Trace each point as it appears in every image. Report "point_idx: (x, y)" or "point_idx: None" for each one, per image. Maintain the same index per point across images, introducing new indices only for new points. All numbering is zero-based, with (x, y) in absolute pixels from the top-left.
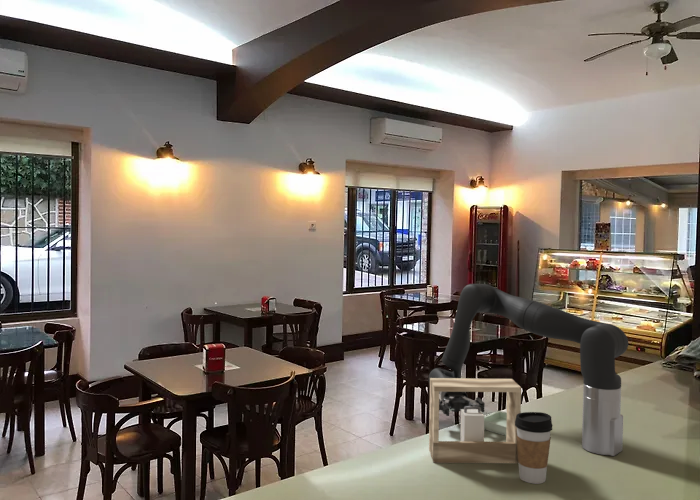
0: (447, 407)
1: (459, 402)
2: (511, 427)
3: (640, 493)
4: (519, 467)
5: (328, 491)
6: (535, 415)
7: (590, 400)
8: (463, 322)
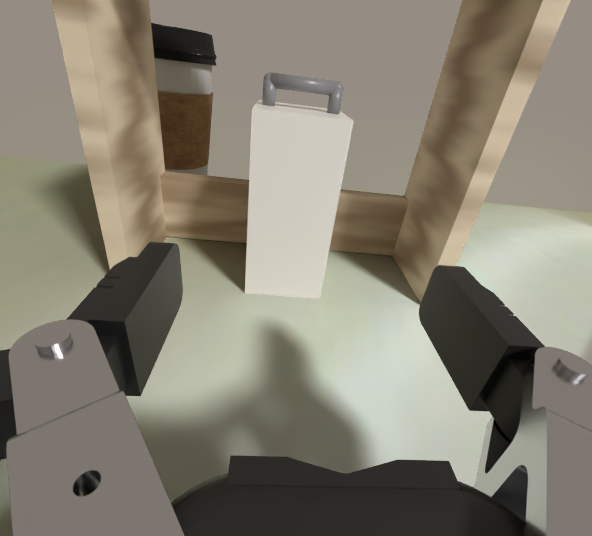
0: (462, 276)
1: (336, 475)
2: (143, 141)
3: (8, 158)
4: (206, 174)
5: (541, 211)
6: None
7: None
8: None
